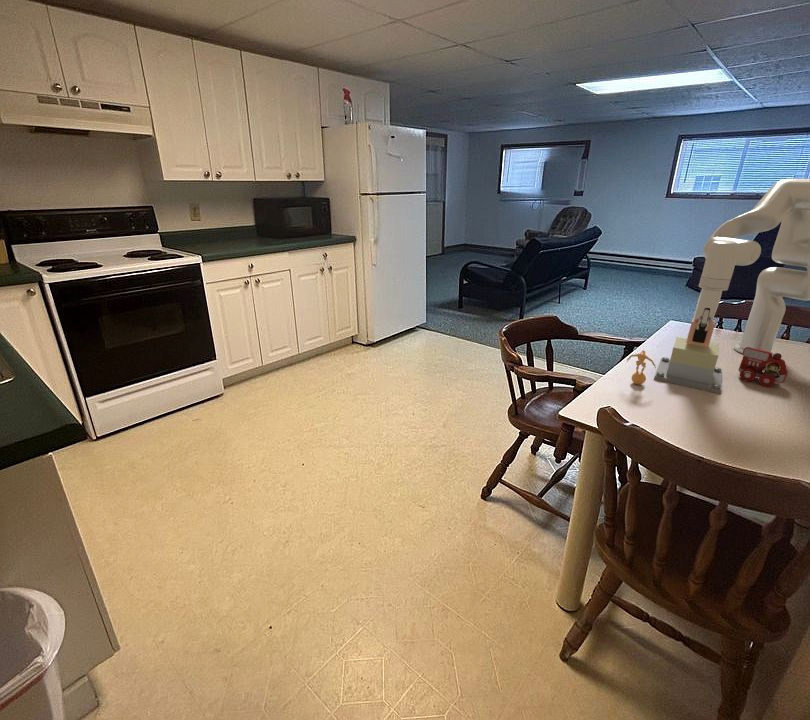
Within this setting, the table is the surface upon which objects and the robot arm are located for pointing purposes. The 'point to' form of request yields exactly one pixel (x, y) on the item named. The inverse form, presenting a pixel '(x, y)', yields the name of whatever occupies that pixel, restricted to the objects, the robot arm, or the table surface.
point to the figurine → (638, 376)
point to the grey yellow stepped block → (692, 366)
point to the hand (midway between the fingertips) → (698, 338)
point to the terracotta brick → (694, 326)
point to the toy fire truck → (762, 367)
